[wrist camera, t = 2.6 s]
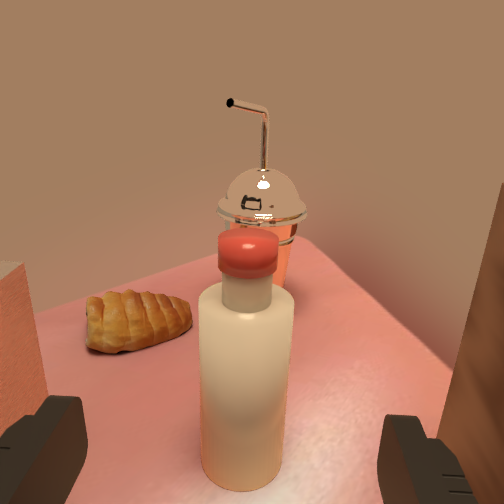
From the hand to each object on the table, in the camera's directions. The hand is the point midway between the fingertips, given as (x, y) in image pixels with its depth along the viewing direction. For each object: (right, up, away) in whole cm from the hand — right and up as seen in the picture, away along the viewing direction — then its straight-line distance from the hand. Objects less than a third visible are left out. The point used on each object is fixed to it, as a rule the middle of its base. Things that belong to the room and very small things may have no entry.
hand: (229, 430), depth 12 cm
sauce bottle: (0, -8, +16) cm, 18 cm away
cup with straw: (+1, -1, +33) cm, 33 cm away
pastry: (-10, -3, +28) cm, 30 cm away
